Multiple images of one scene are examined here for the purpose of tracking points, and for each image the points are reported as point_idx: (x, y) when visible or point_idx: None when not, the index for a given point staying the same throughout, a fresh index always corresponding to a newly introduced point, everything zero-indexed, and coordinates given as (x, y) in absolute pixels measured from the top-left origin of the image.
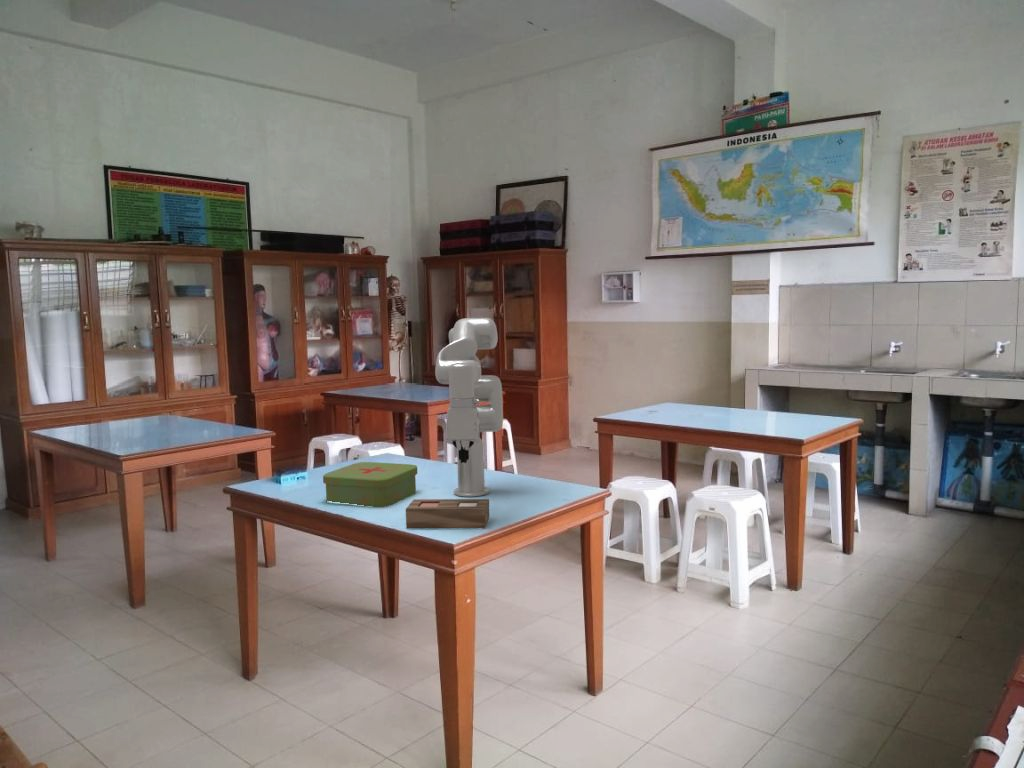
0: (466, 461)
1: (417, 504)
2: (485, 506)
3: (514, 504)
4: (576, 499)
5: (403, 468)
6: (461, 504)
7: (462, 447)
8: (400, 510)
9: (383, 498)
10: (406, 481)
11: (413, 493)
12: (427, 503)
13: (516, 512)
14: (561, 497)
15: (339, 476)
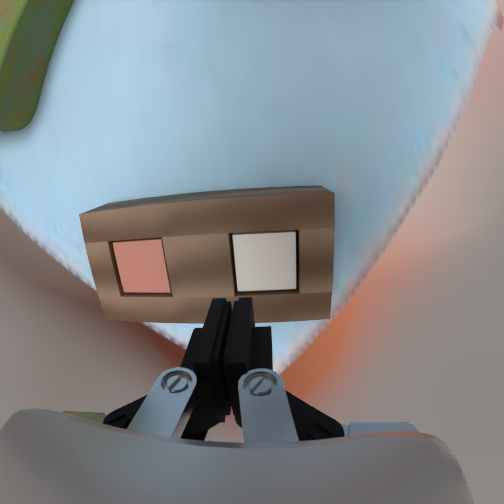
0: (254, 324)
1: (111, 275)
2: (330, 293)
3: (366, 43)
4: (483, 41)
5: (14, 2)
6: (241, 253)
7: (213, 409)
8: (61, 139)
9: (16, 121)
10: (35, 21)
11: (70, 4)
12: (128, 245)
13: (388, 128)
14: (453, 14)
15: None
